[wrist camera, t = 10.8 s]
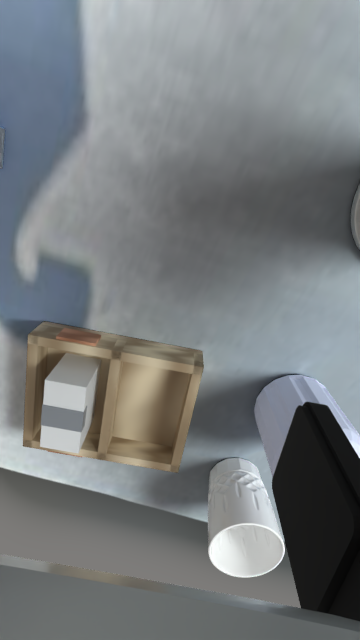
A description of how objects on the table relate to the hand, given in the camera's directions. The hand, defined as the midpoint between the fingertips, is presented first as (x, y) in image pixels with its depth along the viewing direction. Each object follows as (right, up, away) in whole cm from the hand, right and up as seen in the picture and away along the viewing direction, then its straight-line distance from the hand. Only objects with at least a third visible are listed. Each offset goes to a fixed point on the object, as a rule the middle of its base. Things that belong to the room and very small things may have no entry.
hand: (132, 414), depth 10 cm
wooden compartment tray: (-6, -5, +31) cm, 32 cm away
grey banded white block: (-10, -5, +30) cm, 32 cm away
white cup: (+9, -18, +35) cm, 40 cm away
